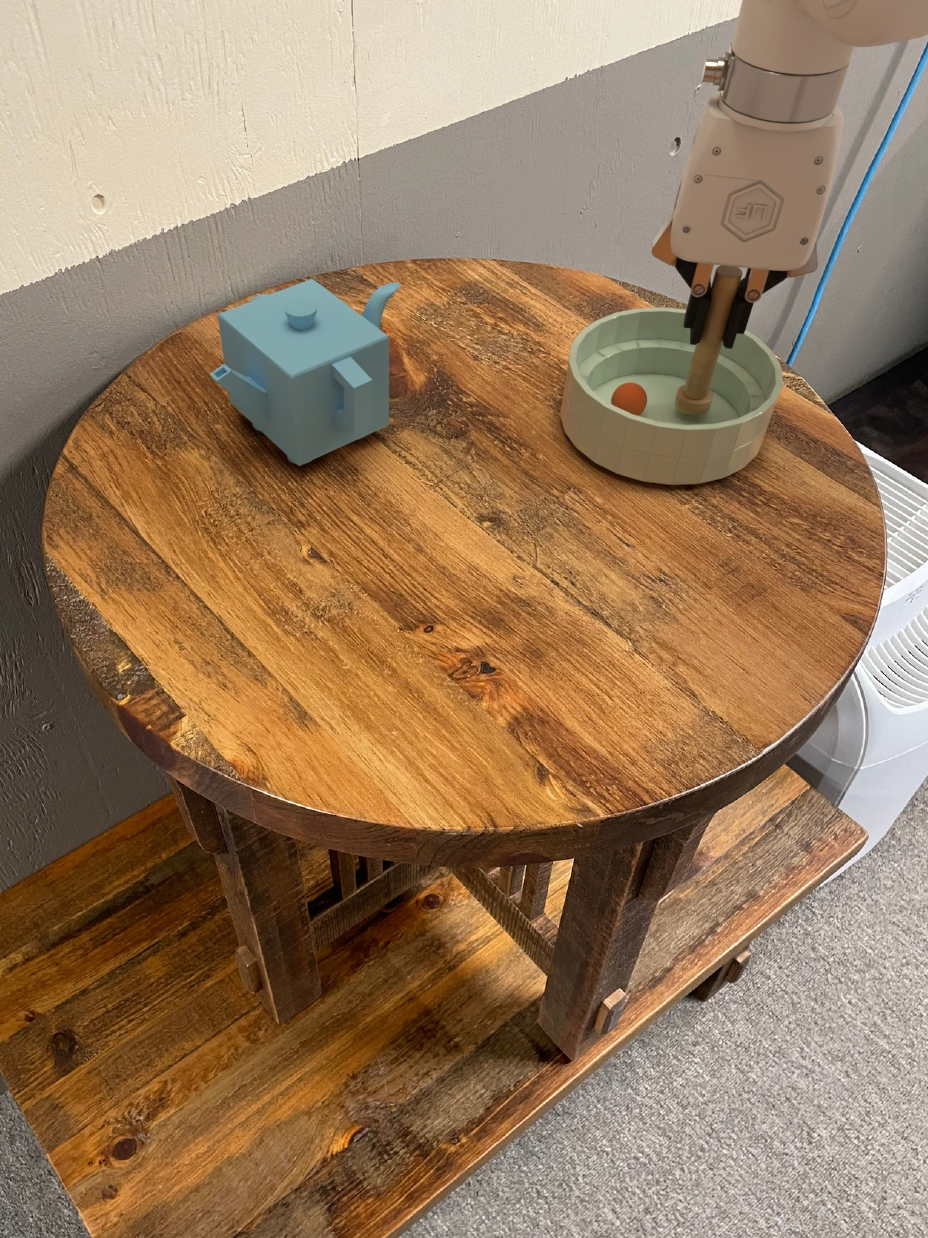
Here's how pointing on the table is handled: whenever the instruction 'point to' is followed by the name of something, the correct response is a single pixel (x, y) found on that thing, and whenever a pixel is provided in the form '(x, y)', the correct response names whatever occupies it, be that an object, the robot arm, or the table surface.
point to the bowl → (666, 399)
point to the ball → (630, 398)
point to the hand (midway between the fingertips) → (711, 335)
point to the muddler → (709, 343)
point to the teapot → (307, 367)
